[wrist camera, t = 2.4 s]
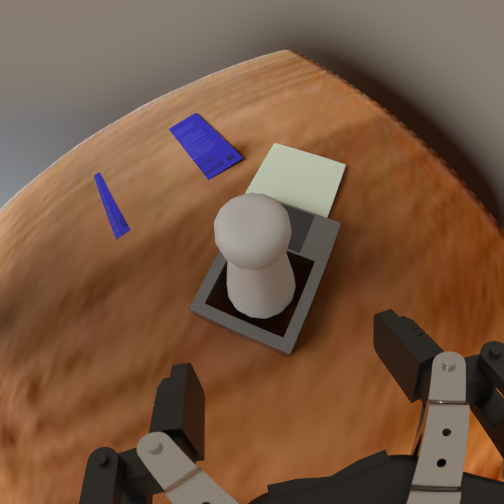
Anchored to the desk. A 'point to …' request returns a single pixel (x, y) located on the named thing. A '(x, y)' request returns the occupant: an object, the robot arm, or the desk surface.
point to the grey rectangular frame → (300, 256)
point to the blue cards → (200, 150)
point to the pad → (298, 179)
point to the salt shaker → (256, 254)
